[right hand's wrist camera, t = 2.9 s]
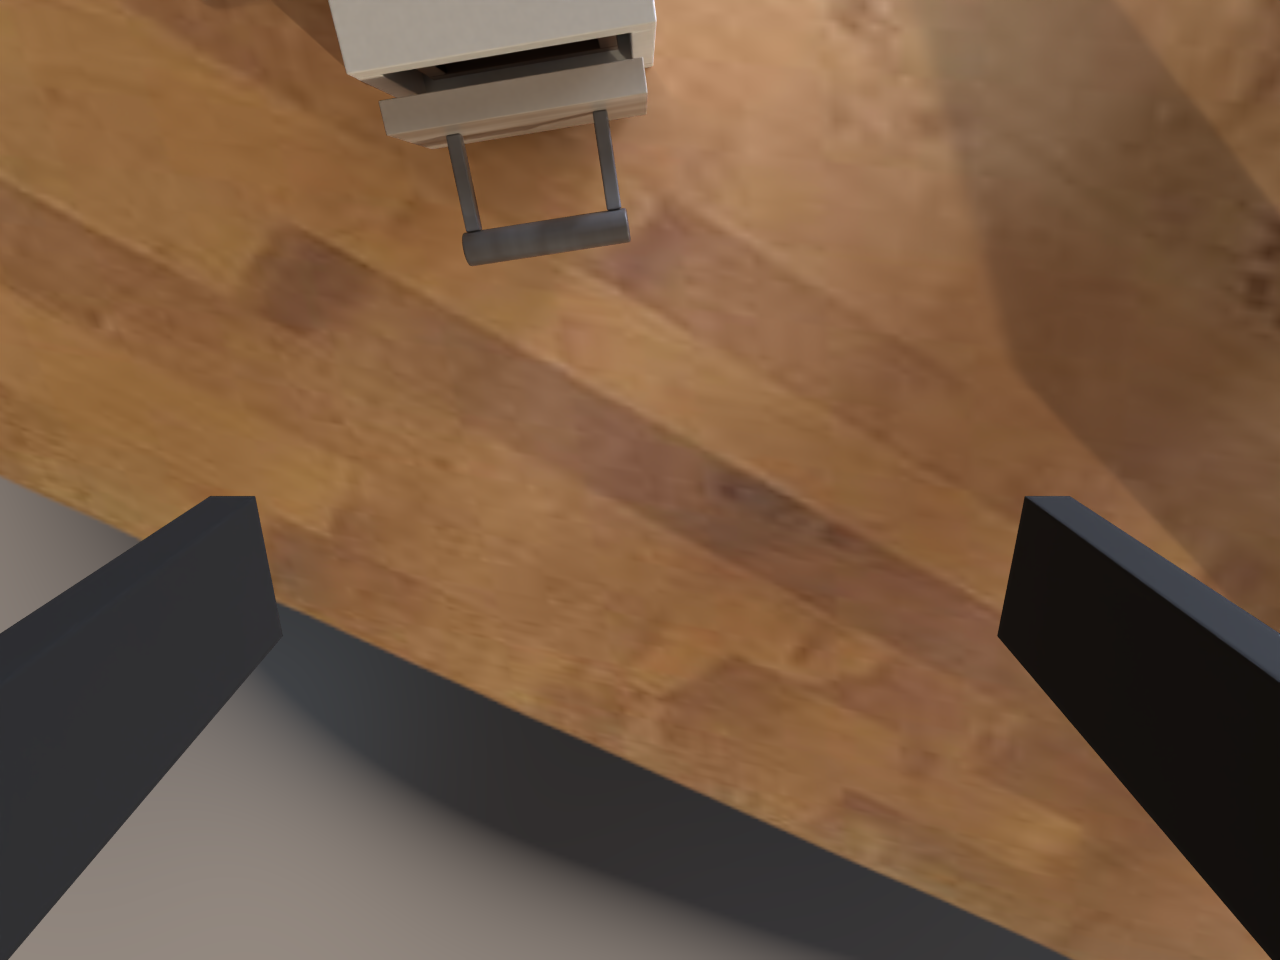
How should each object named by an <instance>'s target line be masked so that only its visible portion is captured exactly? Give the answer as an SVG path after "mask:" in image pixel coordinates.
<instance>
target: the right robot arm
mask: <svg viewBox="0 0 1280 960" xmlns="http://www.w3.org/2000/svg"><path fill="white" fill-rule="evenodd" d="M282 636H283V635H282V630H281V625H280V620H279V615H278V610H277V605H276V600H275V595H274V590H273V585H272V580H271V574H270V569H269V564H268V559H267V554H266V549H265V544H264V539H263V534H262V529H261V524H260V519H259V514H258V509H257V503H256V498H255V496H210V497H208V498H207V499H205V500H204V501H202V502H201V503H199V504H198V505H196V506H194V507H193V508H191V509H190V510H188V511H187V512H185V513H184V514H182V515H181V516H179V517H178V518H176V519H175V520H173V521H172V522H170V523H168V524H167V525H165V526H164V527H162V528H161V529H159V530H158V531H156V532H155V533H153V534H152V535H150V536H149V537H147V538H146V539H144V540H143V541H141V542H139V543H138V544H136V545H135V546H133V547H132V548H130V549H129V550H127V551H126V552H124V553H123V554H121V555H120V556H118V557H117V558H115V559H114V560H112V561H110V562H109V563H108V564H106V565H104V566H103V567H101V568H100V569H98V570H97V571H95V572H94V573H92V574H91V575H89V576H88V577H86V578H85V579H83V580H81V581H80V582H78V583H77V584H75V585H74V586H72V587H71V588H69V589H68V590H66V591H65V592H63V593H62V594H60V595H58V596H57V597H55V598H54V599H52V600H51V601H49V602H48V603H46V604H45V605H43V606H42V607H40V608H39V609H37V610H36V611H34V612H33V613H31V614H30V615H28V616H26V617H25V618H23V619H22V620H20V621H19V622H17V623H16V624H14V625H13V626H11V627H10V628H8V629H7V630H5V631H4V632H2V633H0V960H8V959H9V958H10V957H11V956H12V954H13V953H14V952H15V951H16V950H17V948H18V947H19V946H20V945H21V944H22V943H23V941H24V940H25V939H26V938H27V937H28V936H29V934H30V933H31V932H32V931H33V930H34V928H35V927H36V926H37V925H38V924H39V923H40V921H41V920H42V919H43V918H44V917H45V915H46V914H47V913H48V912H49V911H50V910H51V908H52V907H53V906H54V905H55V904H56V903H57V901H58V900H59V899H60V898H61V897H62V895H63V894H64V893H65V892H66V891H67V889H68V888H69V887H70V886H71V885H72V884H73V882H74V881H75V880H76V879H77V878H78V877H79V875H80V874H81V873H82V872H83V871H84V870H85V868H86V867H87V866H88V865H89V864H90V862H91V861H92V860H93V859H94V858H95V857H96V855H97V854H98V853H99V852H100V851H101V849H102V848H103V847H104V846H105V845H106V844H107V842H108V841H109V840H110V839H111V838H112V837H113V835H114V834H115V833H116V832H117V831H118V829H119V828H120V827H121V826H122V825H123V824H124V822H125V821H126V820H127V819H128V818H129V816H130V815H131V814H132V813H133V812H134V811H135V809H136V808H137V807H138V806H139V805H140V803H141V802H142V801H143V800H144V799H145V798H146V796H147V795H148V794H149V793H150V792H151V791H152V789H153V788H154V787H155V786H156V785H157V783H158V782H159V781H160V780H161V779H162V777H163V776H164V775H165V774H166V773H167V772H168V771H169V769H170V768H171V767H172V766H173V765H174V763H175V762H176V761H177V760H178V759H179V758H180V756H181V755H182V754H183V753H184V752H185V750H186V749H187V748H188V747H189V746H190V745H191V743H192V742H193V741H194V740H195V739H196V738H197V736H198V735H199V734H200V733H201V732H202V730H203V729H204V728H205V727H206V726H207V725H208V723H209V722H210V721H211V720H212V719H213V717H214V716H215V715H216V714H217V713H218V712H219V710H220V709H221V708H222V707H223V706H224V705H225V703H226V702H227V701H228V700H229V699H230V697H231V696H232V695H233V694H234V693H235V691H236V690H237V689H238V688H239V687H240V686H241V684H242V683H243V682H244V681H245V680H246V679H247V677H248V676H249V675H250V674H251V673H252V671H253V670H254V669H255V668H256V667H257V666H258V664H259V663H260V662H261V661H262V660H263V659H264V657H265V656H266V655H267V654H268V653H269V651H270V650H271V649H272V648H273V647H274V646H275V644H276V643H277V642H278V641H279V640H280V639H281V637H282ZM997 636H998V637H999V639H1000V640H1001V641H1002V642H1003V643H1004V644H1005V646H1006V647H1007V648H1008V649H1009V650H1010V651H1011V653H1012V654H1013V655H1014V656H1015V657H1016V659H1017V660H1018V661H1019V662H1020V663H1021V664H1022V666H1023V667H1024V668H1025V669H1026V670H1027V672H1028V673H1029V674H1030V675H1031V676H1032V677H1033V679H1034V680H1035V681H1036V682H1037V683H1038V684H1039V686H1040V687H1041V688H1042V689H1043V690H1044V692H1045V693H1046V694H1047V695H1048V696H1049V697H1050V699H1051V700H1052V701H1053V702H1054V703H1055V705H1056V706H1057V707H1058V708H1059V709H1060V710H1061V712H1062V713H1063V714H1064V715H1065V716H1066V717H1067V719H1068V720H1069V721H1070V722H1071V723H1072V725H1073V726H1074V727H1075V728H1076V729H1077V730H1078V732H1079V733H1080V734H1081V735H1082V736H1083V738H1084V739H1085V740H1086V741H1087V742H1088V743H1089V745H1090V746H1091V747H1092V748H1093V749H1094V750H1095V752H1096V753H1097V754H1098V755H1099V756H1100V758H1101V759H1102V760H1103V761H1104V762H1105V763H1106V765H1107V766H1108V767H1109V768H1110V769H1111V771H1112V772H1113V773H1114V774H1115V775H1116V776H1117V778H1118V779H1119V780H1120V781H1121V782H1122V783H1123V785H1124V786H1125V787H1126V788H1127V789H1128V791H1129V792H1130V793H1131V794H1132V795H1133V796H1134V798H1135V799H1136V800H1137V801H1138V802H1139V804H1140V805H1141V806H1142V807H1143V808H1144V809H1145V811H1146V812H1147V813H1148V814H1149V815H1150V816H1151V818H1152V819H1153V820H1154V821H1155V822H1156V824H1157V825H1158V826H1159V827H1160V828H1161V829H1162V831H1163V832H1164V833H1165V834H1166V835H1167V837H1168V838H1169V839H1170V840H1171V841H1172V842H1173V844H1174V845H1175V846H1176V847H1177V848H1178V849H1179V851H1180V852H1181V853H1182V854H1183V855H1184V857H1185V858H1186V859H1187V860H1188V861H1189V862H1190V864H1191V865H1192V866H1193V867H1194V868H1195V870H1196V871H1197V872H1198V873H1199V874H1200V875H1201V877H1202V878H1203V879H1204V880H1205V881H1206V882H1207V884H1208V885H1209V886H1210V887H1211V888H1212V890H1213V891H1214V892H1215V893H1216V894H1217V895H1218V897H1219V898H1220V899H1221V900H1222V901H1223V903H1224V904H1225V905H1226V906H1227V907H1228V908H1229V910H1230V911H1231V912H1232V913H1233V914H1234V915H1235V917H1236V918H1237V919H1238V920H1239V921H1240V923H1241V924H1242V925H1243V926H1244V927H1245V928H1246V930H1247V931H1248V932H1249V933H1250V934H1251V936H1252V937H1253V938H1254V939H1255V940H1256V941H1257V943H1258V944H1259V945H1260V946H1261V947H1262V948H1263V950H1264V951H1265V952H1266V953H1267V954H1268V956H1269V957H1270V958H1271V959H1272V960H1280V633H1278V632H1277V631H1275V630H1273V629H1272V628H1270V627H1269V626H1267V625H1266V624H1264V623H1263V622H1261V621H1260V620H1258V619H1257V618H1255V617H1254V616H1252V615H1251V614H1249V613H1247V612H1246V611H1244V610H1243V609H1241V608H1240V607H1238V606H1237V605H1235V604H1234V603H1232V602H1231V601H1229V600H1228V599H1226V598H1225V597H1223V596H1222V595H1220V594H1218V593H1217V592H1215V591H1214V590H1212V589H1211V588H1209V587H1208V586H1206V585H1205V584H1203V583H1202V582H1200V581H1199V580H1197V579H1196V578H1194V577H1192V576H1191V575H1189V574H1188V573H1186V572H1185V571H1183V570H1182V569H1180V568H1179V567H1177V566H1176V565H1174V564H1173V563H1171V562H1170V561H1168V560H1167V559H1165V558H1163V557H1162V556H1160V555H1159V554H1157V553H1156V552H1154V551H1153V550H1151V549H1150V548H1148V547H1147V546H1145V545H1144V544H1142V543H1141V542H1139V541H1137V540H1136V539H1134V538H1133V537H1131V536H1130V535H1128V534H1127V533H1125V532H1124V531H1122V530H1121V529H1119V528H1118V527H1116V526H1115V525H1113V524H1112V523H1110V522H1108V521H1107V520H1105V519H1104V518H1102V517H1101V516H1099V515H1098V514H1096V513H1095V512H1093V511H1092V510H1090V509H1089V508H1087V507H1086V506H1084V505H1082V504H1081V503H1079V502H1078V501H1076V500H1075V499H1073V498H1072V497H1070V496H1025V498H1024V503H1023V509H1022V514H1021V519H1020V524H1019V529H1018V534H1017V539H1016V544H1015V549H1014V554H1013V559H1012V564H1011V569H1010V574H1009V580H1008V585H1007V590H1006V595H1005V600H1004V605H1003V610H1002V615H1001V620H1000V625H999V630H998V635H997Z"/></svg>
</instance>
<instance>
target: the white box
mask: <svg viewBox="0 0 1280 960" xmlns="http://www.w3.org/2000/svg"><path fill="white" fill-rule="evenodd" d="M328 2H329V6H330V10H331V14H332V18H333V22H334V26H335V30H336V34H337V38H338V42H339V46H340V49H341V53H342V57H343V61H344V65H345V69H346V73H347V74H348V75H350V76H352V77H354V78H357V79H358V80H360V81H362V82H364V83H367V84H369V85H371V86H373V87H375V88H377V89H379V90H381V91H384V92H386V93H388V94H390V95H392V96H394V97H396V98H399V97H405V96H411V95H417V94H423V93H429V92H435V91H441V90H447V89H453V88H459V87H465V86H471V85H477V84H483V83H489V82H495V81H501V80H507V79H513V78H519V77H525V76H531V75H537V74H543V73H549V72H555V71H561V70H567V69H573V68H579V67H585V66H591V65H597V64H603V63H609V62H615V61H621V60H627V59H633V58H639V57H643V61H644V68H647V67H652V66H653V60H654V46H655V33H656V21H657V20H656V12H655V3H654V0H328ZM613 35H617V40H618V47H619V49H618V50H613V51H607V52H601V53H595V54H589V55H583V56H577V57H571V58H565V59H559V60H553V61H547V62H541V63H535V64H529V65H523V66H517V67H511V68H505V69H499V70H493V71H487V72H481V73H475V74H469V75H463V76H457V77H451V78H445V79H439V80H432V79H431V78H429V77H428V76H426V75H425V74H423V73H422V72H420V71H418V70H417V68H423V67H429V66H435V65H441V64H447V63H453V62H459V61H465V60H471V59H476V58H482V57H488V56H494V55H500V54H506V53H512V52H518V51H524V50H530V49H536V48H542V47H548V46H554V45H560V44H566V43H572V42H578V41H584V40H589V39H595V38H601V37H607V36H613Z"/></svg>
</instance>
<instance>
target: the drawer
mask: <svg viewBox="0 0 1280 960" xmlns="http://www.w3.org/2000/svg"><path fill="white" fill-rule="evenodd" d="M618 49H619V47H618V40H617V35H613V36H607V37H601V38H595V39H589V40H584V41H578V42H572V43H566V44H560V45H554V46H548V47H542V48H536V49H530V50H524V51H518V52H512V53H506V54H500V55H494V56H488V57H482V58H476V59H471V60H465V61H459V62H453V63H447V64H441V65H435V66H429V67H423V68H417V70H418V71H420V72H422V73H423V74H425V75H426V76H428V77H429V78H431V79H432V80H439V79H445V78H451V77H457V76H463V75H469V74H475V73H481V72H487V71H493V70H499V69H505V68H511V67H517V66H523V65H529V64H535V63H541V62H547V61H553V60H559V59H565V58H571V57H577V56H583V55H589V54H595V53H601V52H607V51H613V50H618ZM379 106H380V110H381V114H382V118H383V122H384V126H385V131H386V135H387V136H391V137H394V138H397V139H400V140H404V141H407V142H410V143H413V144H417V145H420V146H423V147H427V148H430V149H437V148H443V147H448V149H449V154H450V158H451V163H452V168H453V172H454V177H455V181H456V186H457V191H458V195H459V200H460V205H461V209H462V214H463V219H464V223H465V228H466V231H467V232H466V233H464V234H463V236H462V244H463V250H464V254H465V258H466V260H467V262H468V264H469V265H470V266H477V265H483V264H490V263H496V262H503V261H509V260H516V259H522V258H529V257H536V256H542V255H549V254H555V253H562V252H568V251H575V250H581V249H588V248H594V247H601V246H608V245H614V244H621V243H627V242H630V240H631V239H630V231H629V224H628V217H627V211H626V208H621V202H620V195H619V188H618V181H617V174H616V167H615V160H614V153H613V146H612V139H611V132H610V126H609V121H610V120H616V119H622V118H628V117H634V116H641V115H646V113H647V84H646V76H645V69H644V61H643V57H639V58H633V59H627V60H621V61H615V62H609V63H603V64H597V65H591V66H585V67H579V68H573V69H567V70H561V71H555V72H549V73H543V74H537V75H531V76H525V77H519V78H513V79H507V80H501V81H495V82H489V83H483V84H477V85H471V86H465V87H459V88H453V89H447V90H441V91H435V92H429V93H423V94H417V95H411V96H405V97H399V98H393V99H387V100H381V101H379ZM591 123H594V126H595V133H596V140H597V146H598V153H599V160H600V166H601V173H602V180H603V186H604V193H605V199H606V206H607V210H608V211H602V212H595V213H589V214H582V215H576V216H569V217H563V218H557V219H550V220H544V221H537V222H531V223H524V224H518V225H512V226H505V227H499V228H492V229H486V230H482V226H481V221H480V216H479V211H478V207H477V202H476V197H475V192H474V187H473V183H472V178H471V173H470V168H469V163H468V159H467V154H466V149H465V144H468V143H474V142H480V141H486V140H492V139H498V138H505V137H511V136H517V135H523V134H529V133H536V132H542V131H548V130H554V129H560V128H566V127H573V126H579V125H585V124H591ZM620 208H621V209H620Z"/></svg>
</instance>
